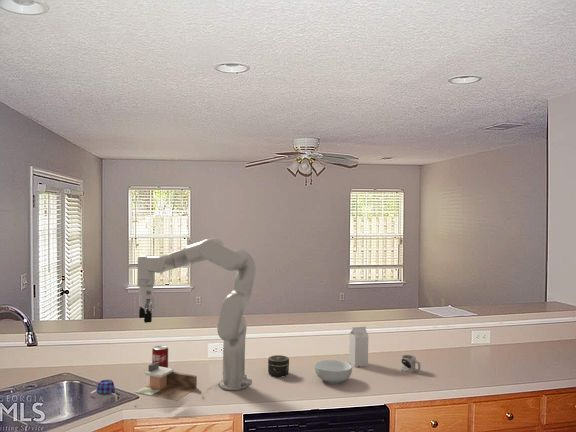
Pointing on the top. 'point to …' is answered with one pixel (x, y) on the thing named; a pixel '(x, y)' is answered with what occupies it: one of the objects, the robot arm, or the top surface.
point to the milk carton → (358, 347)
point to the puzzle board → (173, 387)
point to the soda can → (160, 355)
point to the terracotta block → (158, 382)
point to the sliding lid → (158, 370)
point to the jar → (278, 365)
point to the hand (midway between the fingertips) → (145, 319)
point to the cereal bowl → (333, 370)
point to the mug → (409, 363)
